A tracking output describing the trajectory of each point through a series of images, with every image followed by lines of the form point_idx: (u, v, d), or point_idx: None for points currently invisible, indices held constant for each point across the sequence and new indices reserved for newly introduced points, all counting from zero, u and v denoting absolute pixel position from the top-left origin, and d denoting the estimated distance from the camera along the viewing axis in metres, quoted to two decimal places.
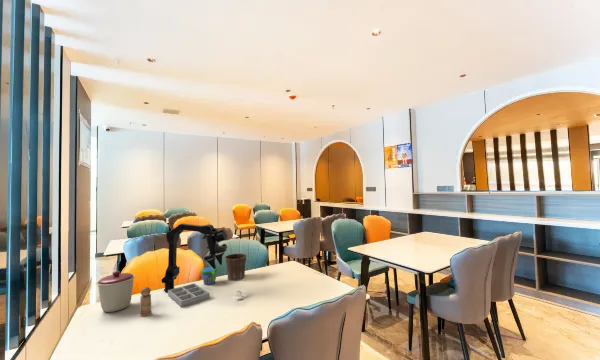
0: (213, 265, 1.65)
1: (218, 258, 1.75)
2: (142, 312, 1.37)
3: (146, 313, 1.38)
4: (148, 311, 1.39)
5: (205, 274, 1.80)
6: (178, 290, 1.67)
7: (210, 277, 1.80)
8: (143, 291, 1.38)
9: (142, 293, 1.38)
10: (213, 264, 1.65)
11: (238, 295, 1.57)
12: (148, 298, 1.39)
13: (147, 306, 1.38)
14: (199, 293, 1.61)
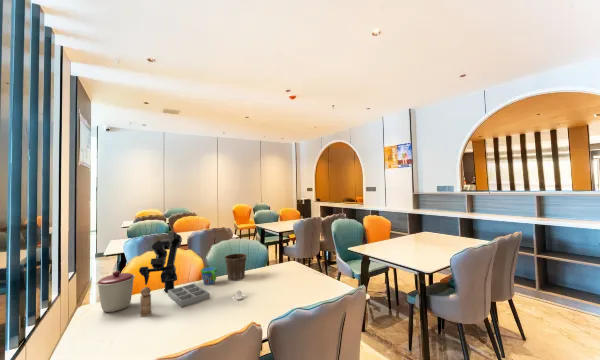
0: None
1: None
2: (142, 312, 1.37)
3: (146, 313, 1.38)
4: (148, 311, 1.39)
5: (205, 274, 1.80)
6: (178, 290, 1.67)
7: (210, 277, 1.80)
8: (143, 291, 1.38)
9: (142, 293, 1.38)
10: None
11: (238, 295, 1.57)
12: (148, 298, 1.39)
13: (147, 306, 1.38)
14: (199, 293, 1.61)
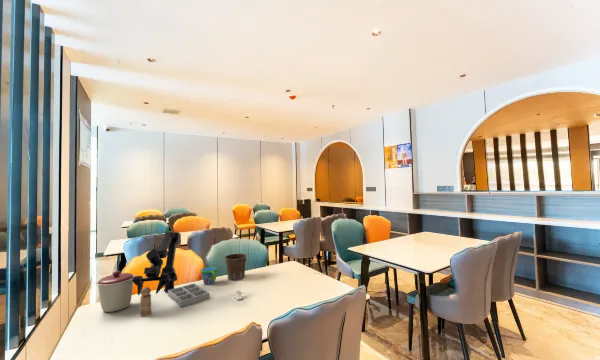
0: None
1: None
2: (142, 312, 1.37)
3: (146, 313, 1.38)
4: (148, 311, 1.39)
5: (205, 274, 1.80)
6: (178, 290, 1.67)
7: (210, 277, 1.80)
8: (143, 291, 1.38)
9: (142, 293, 1.38)
10: None
11: (238, 295, 1.57)
12: (148, 298, 1.39)
13: (147, 306, 1.38)
14: (199, 293, 1.61)
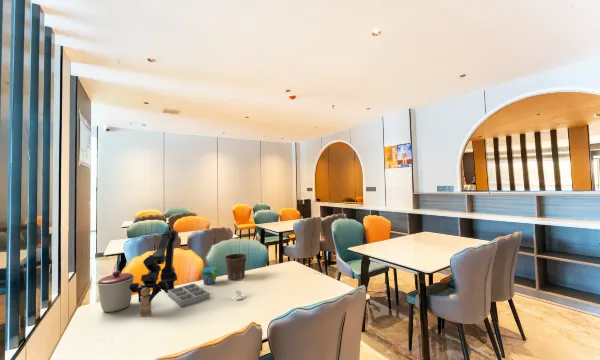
0: None
1: None
2: (142, 312, 1.37)
3: (146, 313, 1.38)
4: (148, 311, 1.39)
5: (205, 274, 1.80)
6: (178, 290, 1.67)
7: (210, 277, 1.80)
8: (143, 291, 1.38)
9: (142, 293, 1.38)
10: None
11: (238, 295, 1.56)
12: (148, 298, 1.39)
13: (147, 306, 1.38)
14: (199, 293, 1.61)
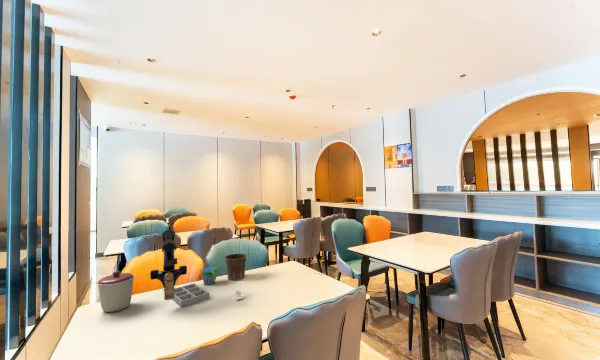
0: (162, 282, 1.45)
1: (174, 278, 1.49)
2: (167, 296, 1.43)
3: (171, 296, 1.44)
4: (173, 294, 1.45)
5: (205, 274, 1.80)
6: (178, 290, 1.67)
7: (210, 277, 1.80)
8: (168, 276, 1.44)
9: (167, 278, 1.44)
10: (161, 281, 1.45)
11: (237, 295, 1.56)
12: (173, 282, 1.45)
13: (172, 290, 1.45)
14: (199, 293, 1.61)
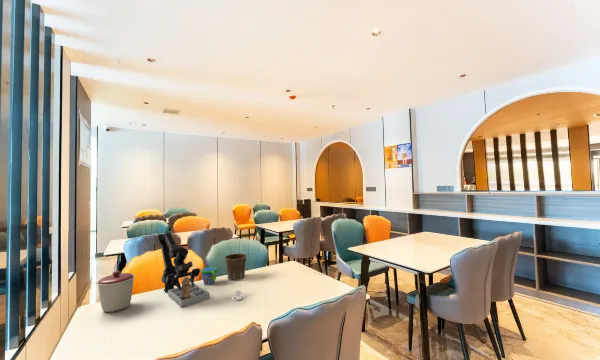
0: (178, 286, 1.50)
1: (191, 280, 1.57)
2: None
3: None
4: None
5: (205, 274, 1.80)
6: (178, 290, 1.67)
7: (210, 277, 1.80)
8: (186, 280, 1.51)
9: (185, 282, 1.51)
10: (177, 285, 1.50)
11: (237, 295, 1.56)
12: (190, 286, 1.53)
13: (190, 293, 1.52)
14: (199, 293, 1.61)
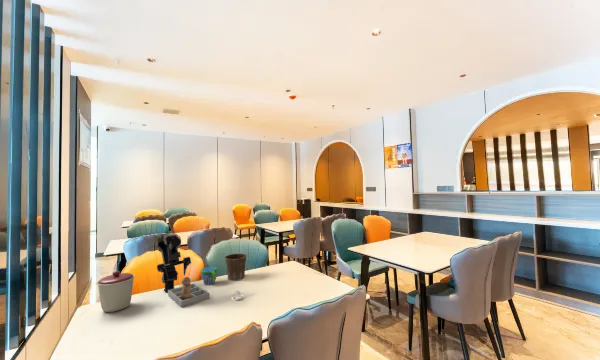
0: (165, 276, 1.56)
1: None
2: None
3: None
4: None
5: (205, 274, 1.80)
6: (178, 290, 1.67)
7: (210, 277, 1.80)
8: (187, 280, 1.51)
9: (186, 282, 1.51)
10: (165, 275, 1.56)
11: (237, 295, 1.56)
12: (190, 286, 1.53)
13: (190, 294, 1.52)
14: (199, 293, 1.61)
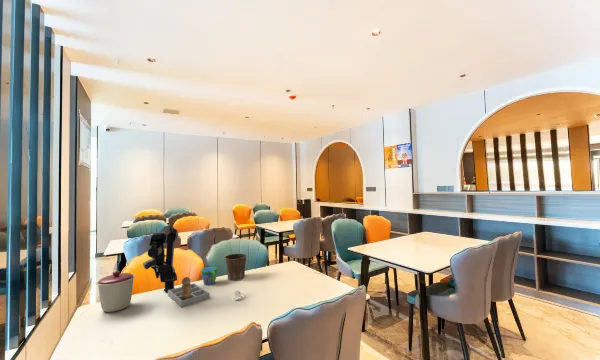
0: None
1: None
2: None
3: None
4: None
5: (205, 274, 1.80)
6: (178, 290, 1.67)
7: (210, 277, 1.80)
8: (187, 280, 1.51)
9: (186, 282, 1.51)
10: None
11: (237, 295, 1.56)
12: (190, 286, 1.53)
13: (190, 294, 1.52)
14: (199, 293, 1.61)
